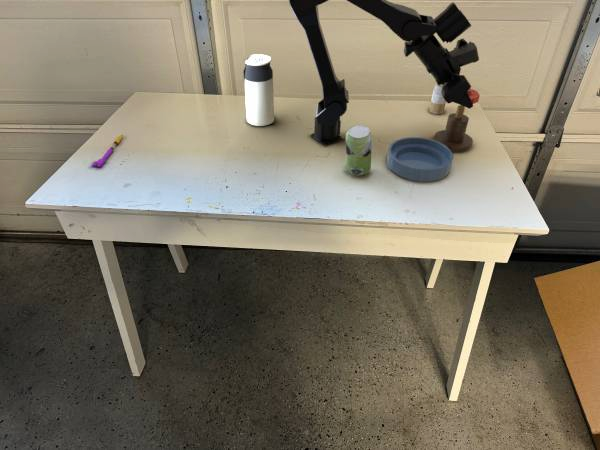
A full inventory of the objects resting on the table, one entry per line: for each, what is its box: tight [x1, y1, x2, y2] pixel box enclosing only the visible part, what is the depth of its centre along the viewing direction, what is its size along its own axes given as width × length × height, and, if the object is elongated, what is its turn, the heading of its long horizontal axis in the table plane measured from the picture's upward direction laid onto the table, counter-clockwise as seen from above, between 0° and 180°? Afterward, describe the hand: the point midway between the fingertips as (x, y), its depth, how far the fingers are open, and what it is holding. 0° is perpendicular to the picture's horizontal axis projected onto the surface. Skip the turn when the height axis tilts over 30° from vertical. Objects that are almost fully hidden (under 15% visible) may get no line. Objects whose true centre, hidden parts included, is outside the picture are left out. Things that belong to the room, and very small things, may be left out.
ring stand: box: [433, 104, 474, 154], centre depth 118 cm, size 10×10×11 cm
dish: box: [386, 136, 454, 182], centre depth 111 cm, size 16×16×4 cm
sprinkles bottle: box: [428, 80, 447, 115], centre depth 132 cm, size 5×5×13 cm
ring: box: [467, 88, 481, 105], centre depth 113 cm, size 7×7×2 cm
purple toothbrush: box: [91, 134, 124, 168], centre depth 116 cm, size 3×1×16 cm
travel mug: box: [243, 53, 275, 127], centre depth 125 cm, size 8×8×18 cm
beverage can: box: [345, 124, 373, 176], centre depth 106 cm, size 6×7×12 cm
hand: (468, 101), depth 113 cm, fingers closed on ring, 7 cm apart
